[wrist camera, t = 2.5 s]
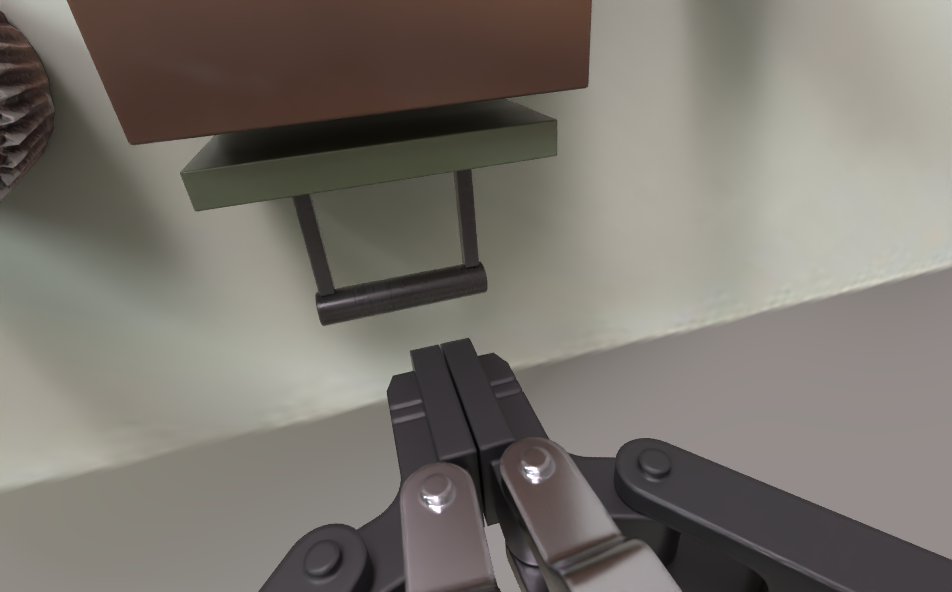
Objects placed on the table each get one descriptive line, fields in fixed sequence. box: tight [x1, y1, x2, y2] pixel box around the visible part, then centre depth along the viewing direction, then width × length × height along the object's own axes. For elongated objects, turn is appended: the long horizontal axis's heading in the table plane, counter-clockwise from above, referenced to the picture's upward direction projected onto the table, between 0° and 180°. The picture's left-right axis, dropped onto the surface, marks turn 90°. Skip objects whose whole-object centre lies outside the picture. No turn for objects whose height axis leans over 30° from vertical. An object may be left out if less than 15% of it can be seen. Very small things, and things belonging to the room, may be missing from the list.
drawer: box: [180, 98, 557, 326], centre depth 17 cm, size 19×12×7 cm, turn 5°
